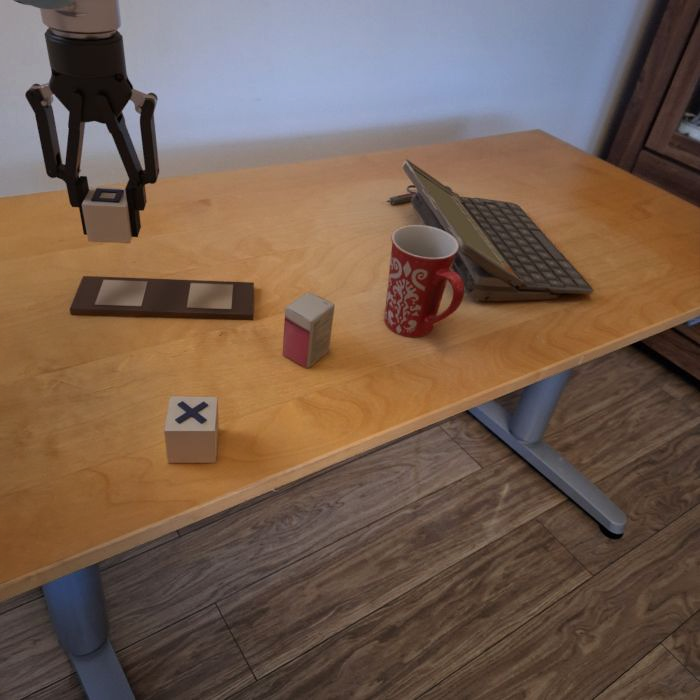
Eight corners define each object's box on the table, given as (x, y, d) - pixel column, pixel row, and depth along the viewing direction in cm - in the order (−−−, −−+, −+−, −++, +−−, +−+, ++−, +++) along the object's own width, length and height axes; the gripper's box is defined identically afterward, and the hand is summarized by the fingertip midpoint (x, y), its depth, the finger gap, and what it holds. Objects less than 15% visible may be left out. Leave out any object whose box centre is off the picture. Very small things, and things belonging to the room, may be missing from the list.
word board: (70, 314, 82) (69, 308, 82) (84, 281, 88) (82, 275, 88) (253, 320, 86) (253, 313, 85) (253, 287, 92) (253, 281, 91)
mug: (365, 312, 90) (378, 230, 82) (414, 298, 95) (431, 219, 86) (415, 363, 83) (436, 279, 74) (466, 346, 87) (491, 264, 78)
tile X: (167, 463, 65) (163, 429, 62) (173, 428, 69) (169, 394, 66) (216, 463, 66) (214, 429, 63) (218, 428, 70) (217, 395, 67)
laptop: (446, 306, 94) (462, 246, 87) (392, 208, 118) (401, 155, 111) (593, 302, 100) (619, 245, 93) (514, 209, 124) (529, 159, 117)
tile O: (96, 222, 80) (90, 184, 77) (136, 224, 81) (132, 186, 77) (88, 241, 76) (81, 202, 73) (130, 243, 77) (125, 205, 74)
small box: (304, 337, 84) (308, 289, 79) (330, 351, 83) (335, 303, 78) (280, 355, 81) (283, 306, 76) (307, 370, 79) (311, 321, 74)
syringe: (367, 198, 120) (368, 190, 119) (437, 184, 129) (438, 176, 128) (391, 216, 115) (392, 207, 114) (461, 200, 124) (463, 192, 123)
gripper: (-25, 29, 59) (28, 242, 74) (169, 47, 62) (183, 249, 77) (1, 12, 65) (45, 212, 80) (177, 28, 68) (188, 220, 82)
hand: (112, 230), depth 78 cm, fingers closed on tile O, 5 cm apart
